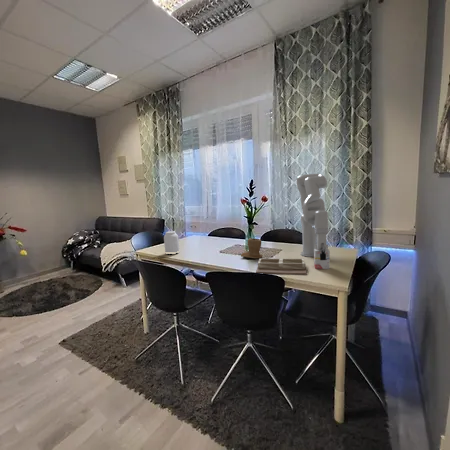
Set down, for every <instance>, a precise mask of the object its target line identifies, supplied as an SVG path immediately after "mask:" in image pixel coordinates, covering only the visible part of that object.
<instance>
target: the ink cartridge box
mask: <svg viewBox="0 0 450 450" xmlns="http://www.w3.org/2000/svg"><path fill="white" fill-rule="evenodd" d="M321 246H322V244H321ZM321 251H322V250H321ZM325 252H326V260H320V249H319V250H318V249H317V244H315V245H314V257H313V265H314V266H313V267H314V268H315V269H316V270H330V262H331V261H330V259H331V257H330V256H331V255H330V254H331V253H330V249H329V244H327V243H326V250H325Z"/></svg>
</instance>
